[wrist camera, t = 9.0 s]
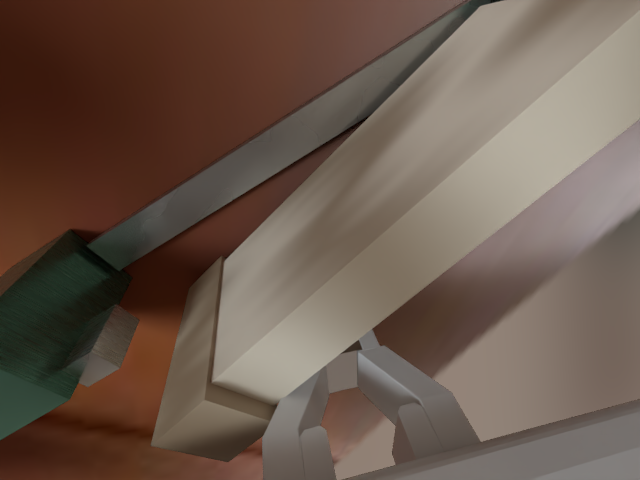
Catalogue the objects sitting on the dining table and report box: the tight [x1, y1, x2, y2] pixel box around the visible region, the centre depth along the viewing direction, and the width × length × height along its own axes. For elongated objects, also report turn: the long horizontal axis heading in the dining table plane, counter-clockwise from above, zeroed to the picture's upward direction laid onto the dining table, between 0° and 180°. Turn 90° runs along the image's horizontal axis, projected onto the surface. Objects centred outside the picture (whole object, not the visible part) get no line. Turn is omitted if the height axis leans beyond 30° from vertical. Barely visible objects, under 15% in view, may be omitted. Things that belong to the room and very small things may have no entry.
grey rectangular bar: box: [151, 0, 640, 462], centre depth 8 cm, size 12×2×5 cm, turn 133°
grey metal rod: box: [87, 0, 491, 271], centre depth 9 cm, size 14×1×1 cm, turn 119°
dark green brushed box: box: [0, 229, 139, 440], centre depth 8 cm, size 3×3×4 cm
